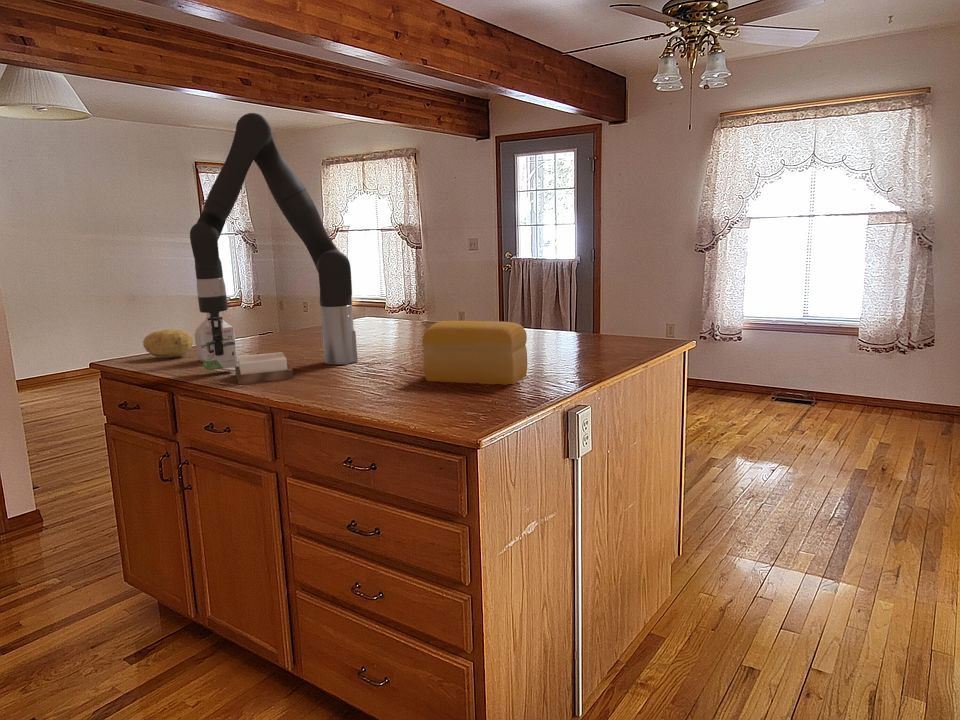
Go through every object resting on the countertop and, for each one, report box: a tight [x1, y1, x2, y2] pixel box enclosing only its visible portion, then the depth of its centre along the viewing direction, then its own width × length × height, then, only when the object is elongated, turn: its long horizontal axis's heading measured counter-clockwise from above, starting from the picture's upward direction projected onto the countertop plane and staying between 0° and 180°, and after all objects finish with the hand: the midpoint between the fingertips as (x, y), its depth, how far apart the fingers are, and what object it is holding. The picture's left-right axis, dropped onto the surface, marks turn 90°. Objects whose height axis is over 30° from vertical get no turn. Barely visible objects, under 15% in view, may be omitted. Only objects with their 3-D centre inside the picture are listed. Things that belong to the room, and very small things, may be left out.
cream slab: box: [237, 351, 288, 375], centre depth 189 cm, size 12×12×3 cm
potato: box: [142, 329, 194, 359], centre depth 224 cm, size 10×14×10 cm
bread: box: [422, 320, 528, 386], centre depth 178 cm, size 24×13×15 cm, turn 69°
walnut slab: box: [234, 362, 294, 385], centre depth 190 cm, size 14×14×3 cm
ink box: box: [199, 324, 239, 371], centre depth 196 cm, size 9×5×12 cm, turn 123°
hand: (219, 353), depth 196 cm, fingers closed on ink box, 5 cm apart
